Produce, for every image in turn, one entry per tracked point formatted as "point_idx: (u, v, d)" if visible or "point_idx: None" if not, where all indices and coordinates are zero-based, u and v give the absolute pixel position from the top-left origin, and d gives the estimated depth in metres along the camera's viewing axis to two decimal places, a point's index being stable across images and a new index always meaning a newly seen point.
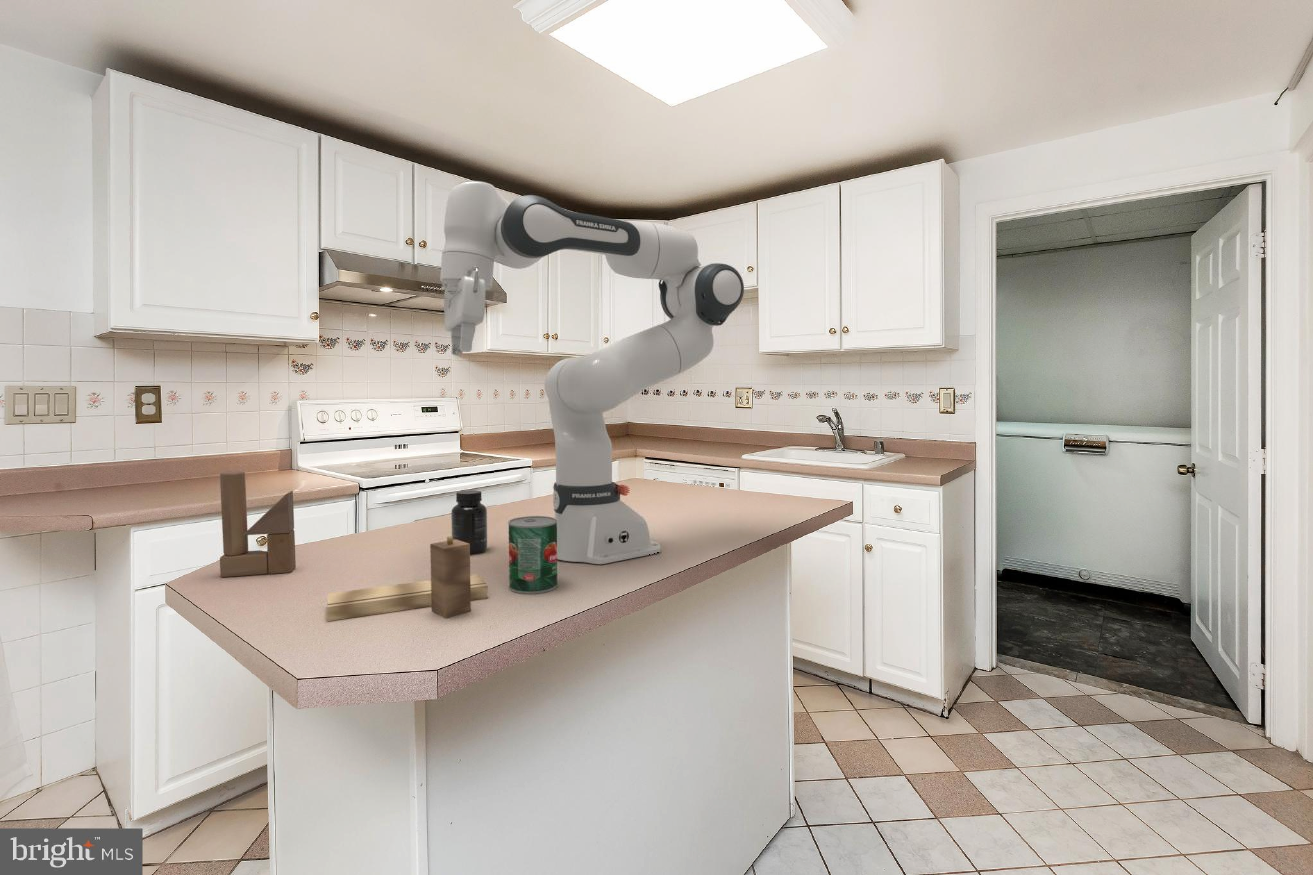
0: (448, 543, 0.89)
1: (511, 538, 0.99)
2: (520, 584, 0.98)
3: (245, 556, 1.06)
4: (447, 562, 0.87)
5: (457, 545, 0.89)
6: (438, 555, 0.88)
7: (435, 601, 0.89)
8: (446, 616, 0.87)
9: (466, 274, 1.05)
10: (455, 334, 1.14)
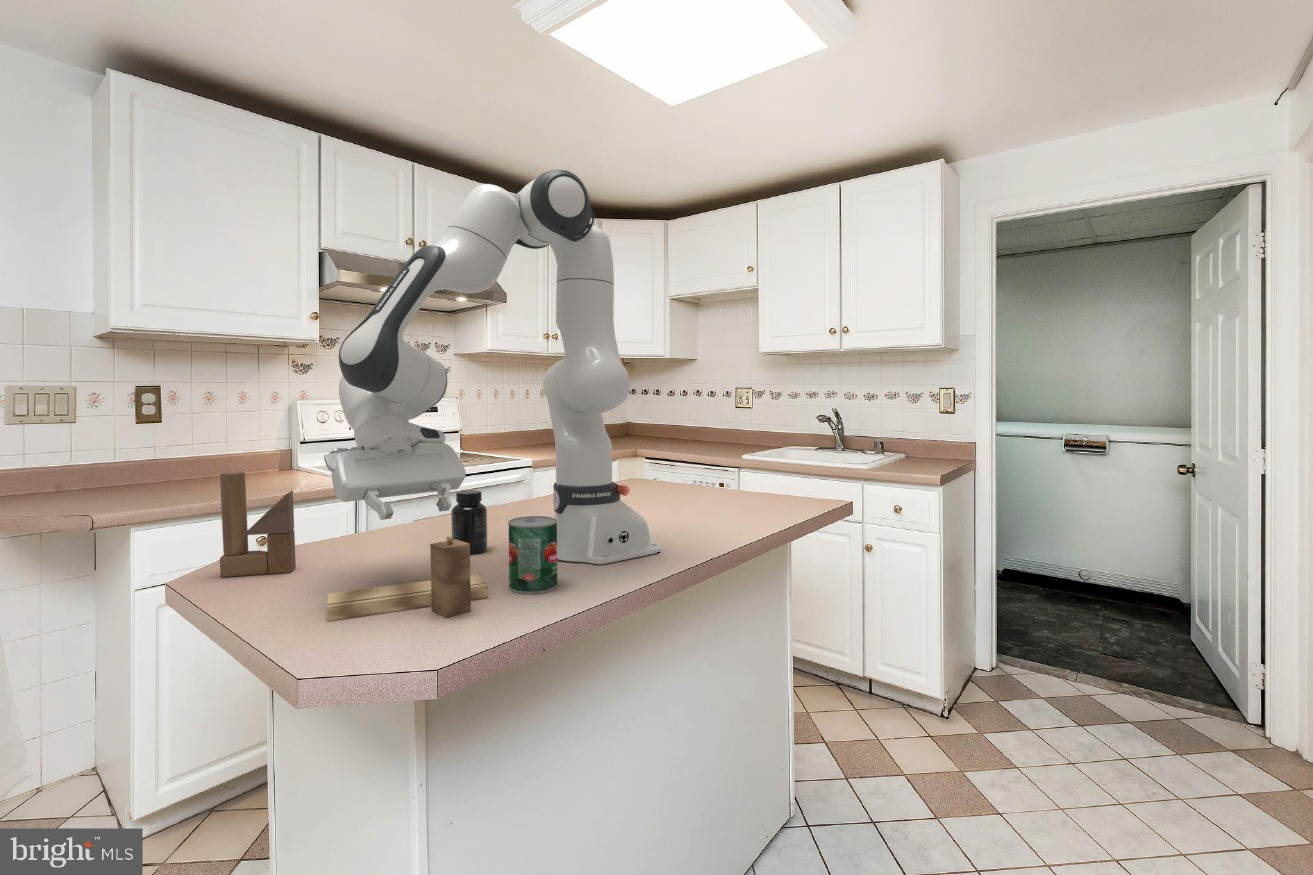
0: (448, 543, 0.89)
1: (511, 538, 0.99)
2: (520, 584, 0.98)
3: (245, 556, 1.06)
4: (447, 562, 0.87)
5: (457, 545, 0.89)
6: (438, 555, 0.88)
7: (435, 601, 0.89)
8: (446, 616, 0.87)
9: None
10: (439, 491, 1.01)
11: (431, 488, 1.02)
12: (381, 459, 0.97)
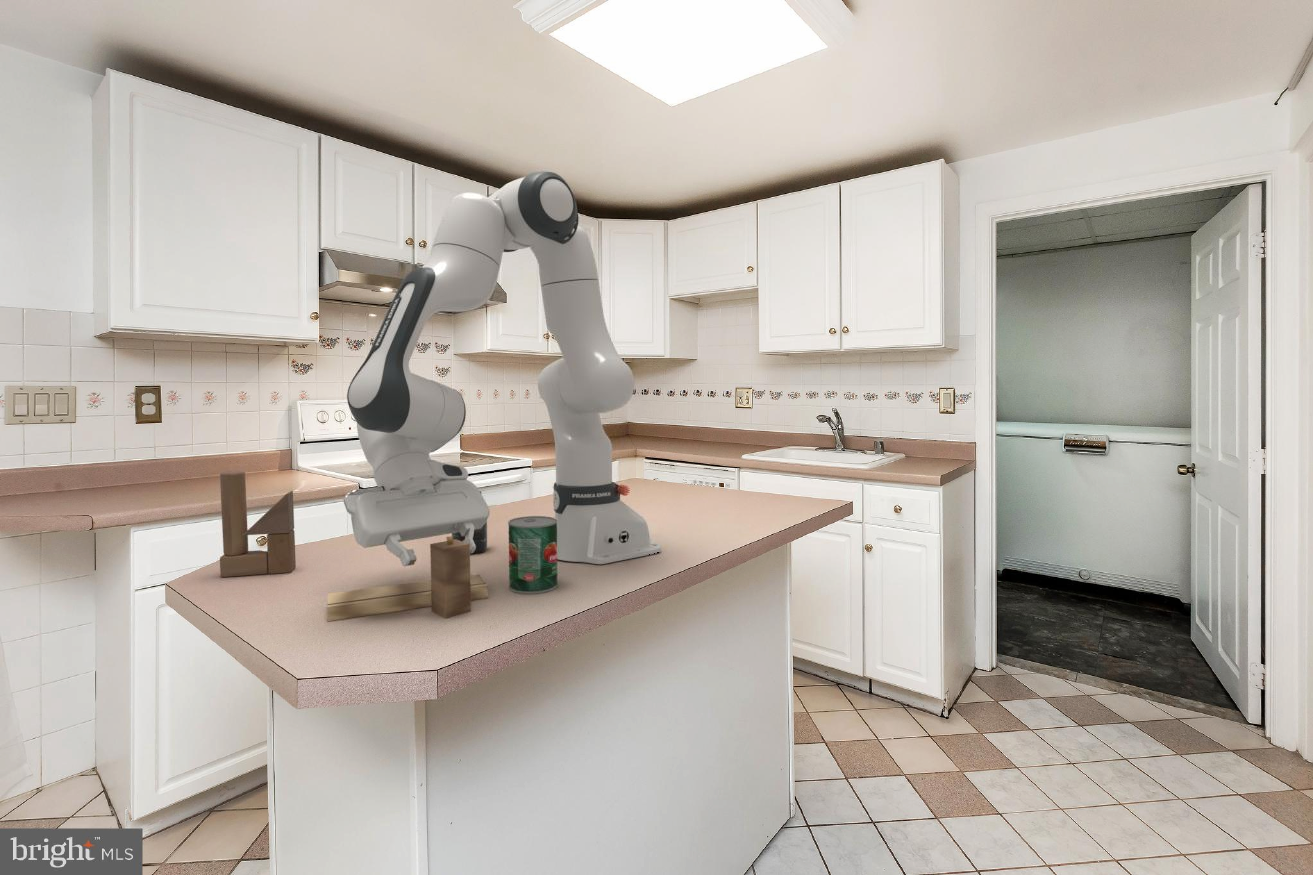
0: (448, 543, 0.89)
1: (511, 538, 0.99)
2: (520, 584, 0.98)
3: (245, 556, 1.06)
4: (447, 562, 0.87)
5: (457, 545, 0.89)
6: (438, 555, 0.88)
7: (435, 601, 0.89)
8: (446, 616, 0.87)
9: None
10: (462, 532, 0.96)
11: (454, 528, 0.97)
12: (402, 501, 0.92)
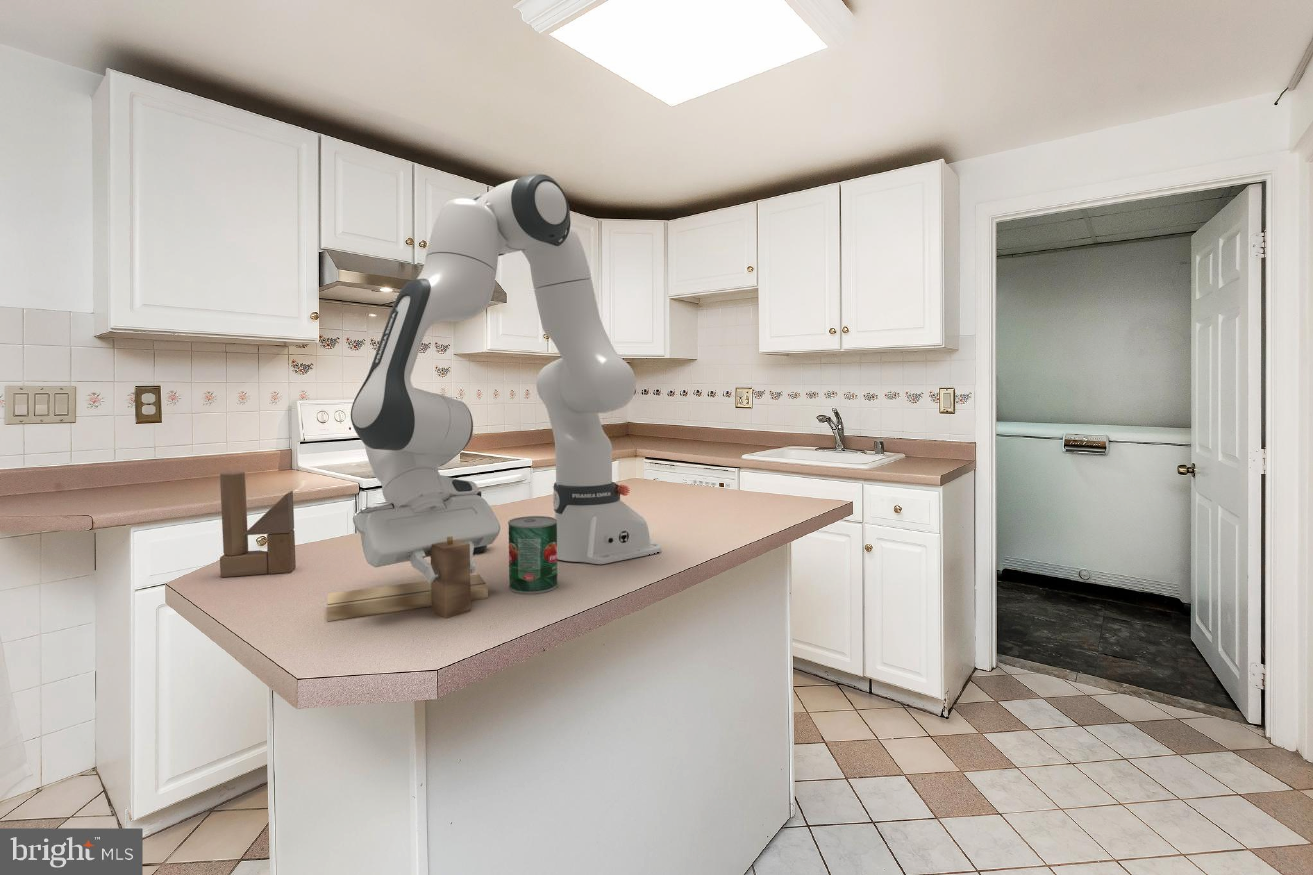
0: (448, 543, 0.89)
1: (511, 538, 0.99)
2: (520, 584, 0.98)
3: (245, 556, 1.06)
4: (447, 562, 0.87)
5: (457, 545, 0.89)
6: (438, 555, 0.88)
7: (435, 601, 0.89)
8: (446, 616, 0.87)
9: None
10: None
11: None
12: (412, 518, 0.90)
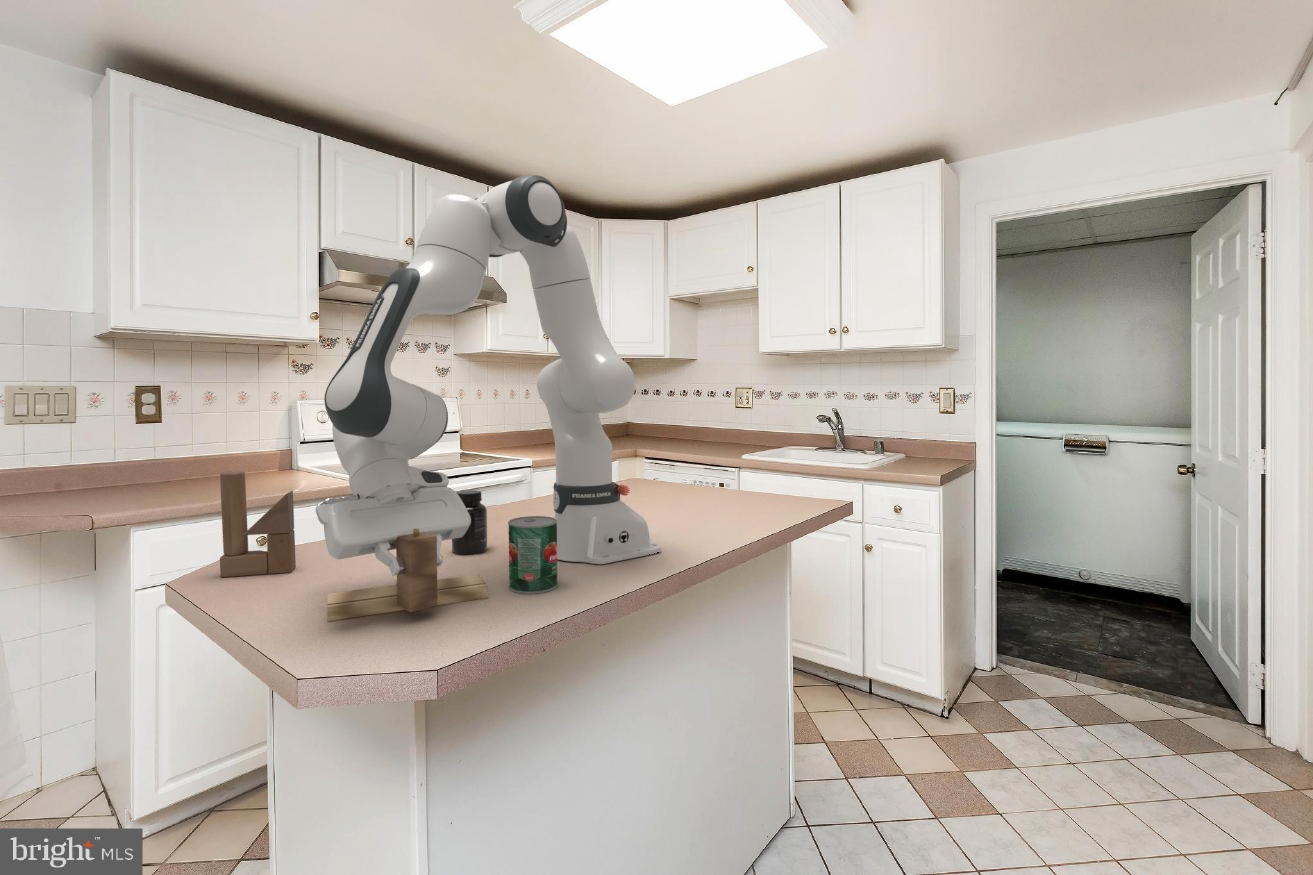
0: (414, 535, 0.87)
1: (511, 538, 0.99)
2: (520, 584, 0.98)
3: (245, 556, 1.06)
4: (413, 554, 0.85)
5: (423, 537, 0.86)
6: (403, 547, 0.86)
7: (401, 595, 0.87)
8: (411, 610, 0.85)
9: None
10: None
11: None
12: (378, 509, 0.88)
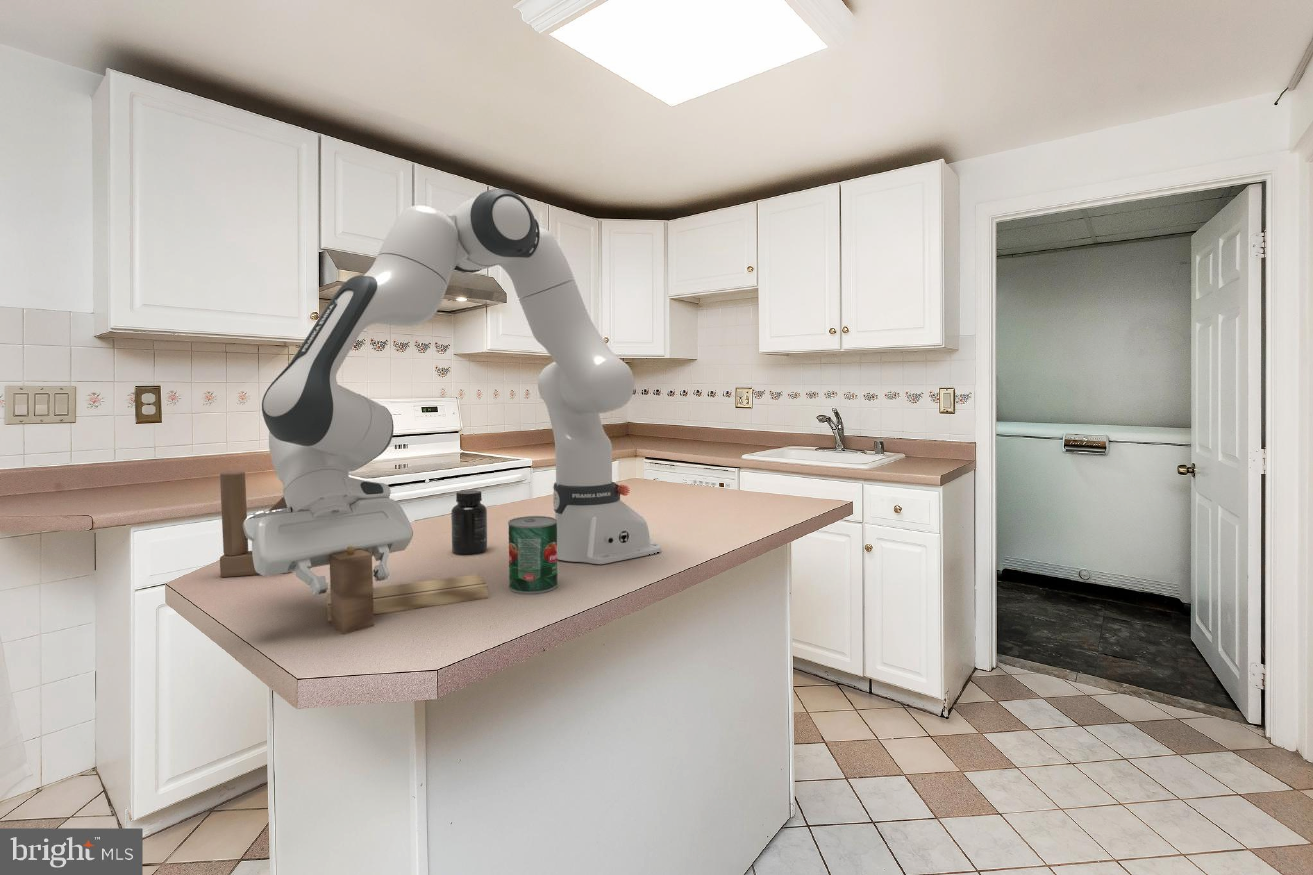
0: (348, 553, 0.83)
1: (511, 538, 0.99)
2: (520, 584, 0.98)
3: (245, 556, 1.06)
4: (345, 574, 0.81)
5: (357, 556, 0.83)
6: (336, 566, 0.82)
7: (334, 616, 0.83)
8: (344, 632, 0.81)
9: None
10: (376, 557, 0.88)
11: (372, 551, 0.89)
12: (311, 523, 0.84)
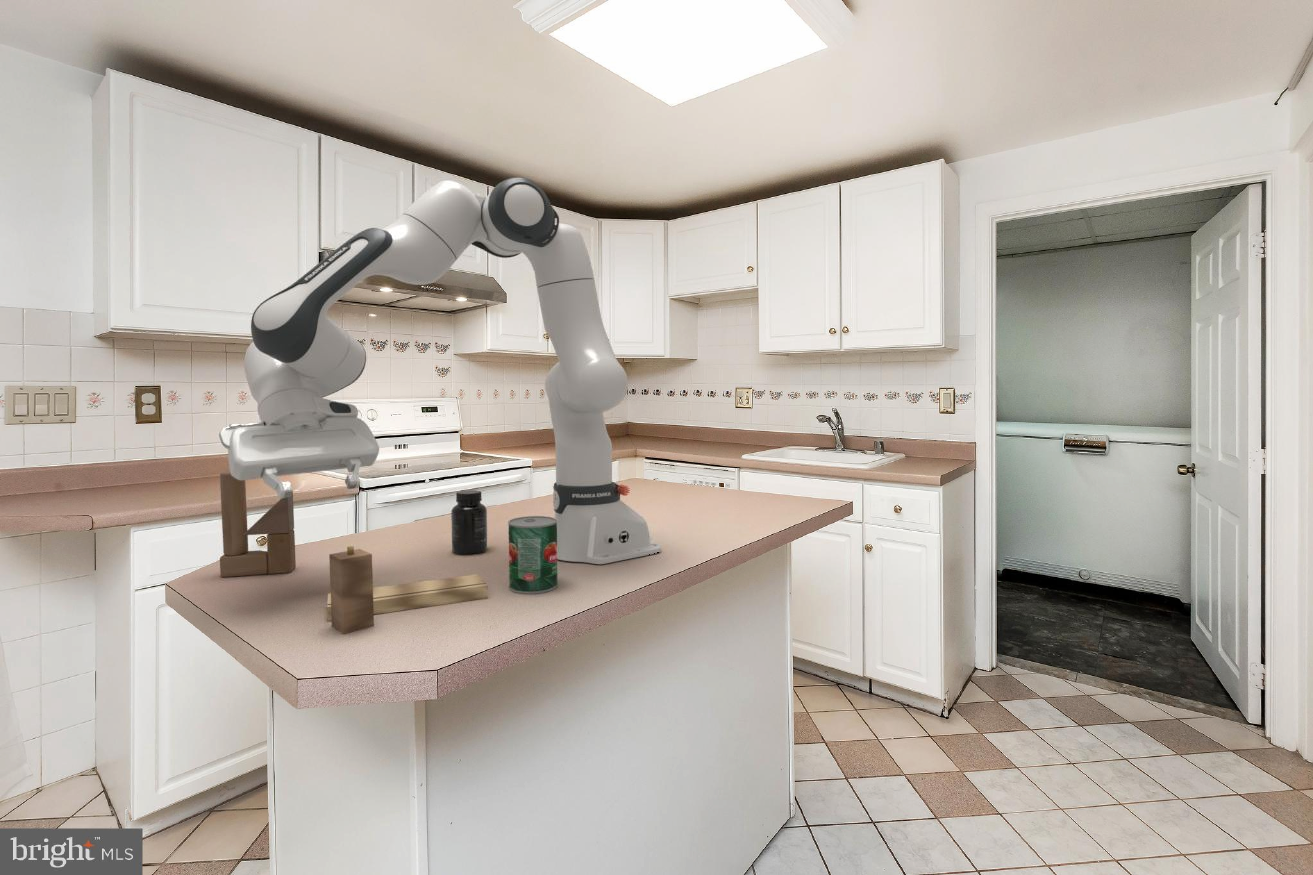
0: (348, 553, 0.83)
1: (511, 538, 0.99)
2: (520, 584, 0.98)
3: (245, 556, 1.06)
4: (345, 574, 0.81)
5: (357, 555, 0.83)
6: (336, 566, 0.82)
7: (334, 616, 0.83)
8: (344, 632, 0.81)
9: None
10: (349, 468, 0.97)
11: (341, 465, 0.98)
12: (283, 436, 0.93)
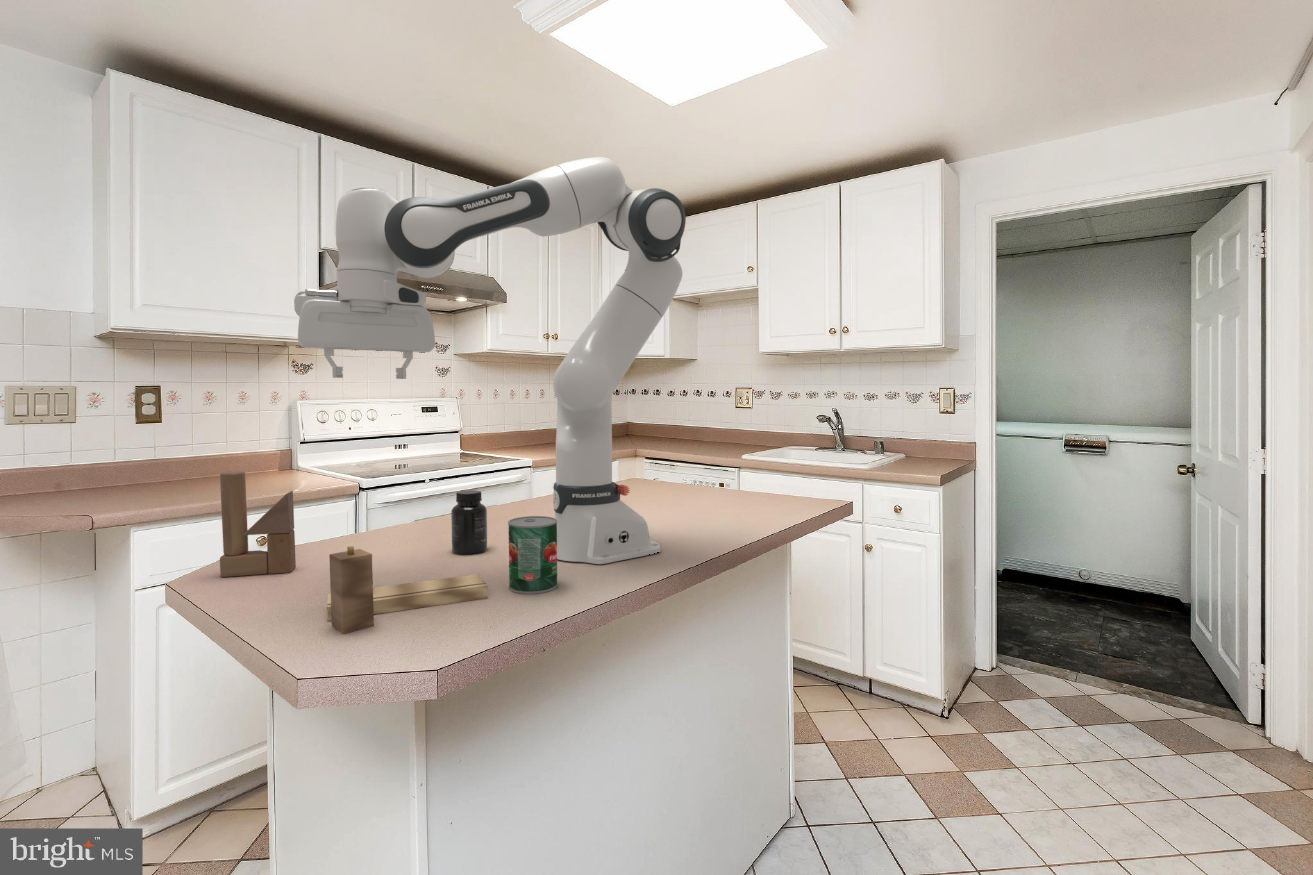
0: (348, 553, 0.83)
1: (511, 538, 0.99)
2: (520, 584, 0.98)
3: (245, 556, 1.06)
4: (345, 574, 0.81)
5: (357, 555, 0.83)
6: (336, 566, 0.82)
7: (334, 616, 0.83)
8: (344, 632, 0.81)
9: None
10: (403, 356, 1.04)
11: None
12: (348, 316, 0.98)
